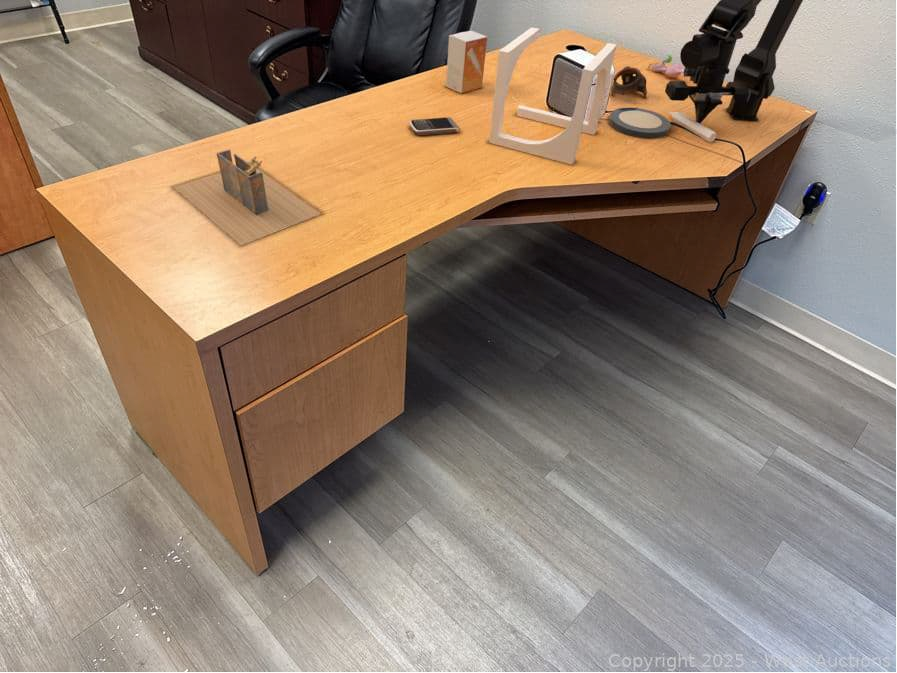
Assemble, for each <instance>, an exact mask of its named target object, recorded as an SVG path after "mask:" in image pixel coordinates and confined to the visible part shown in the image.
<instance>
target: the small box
mask: <svg viewBox="0 0 897 673" xmlns="http://www.w3.org/2000/svg"><path fill="white" fill-rule="evenodd" d="M487 43H488V36H487V35H484V34H481V33H479V32H477V31H474V30H472V29H471V30H467V31H461V32H457V33H454V34H453V33H452V34H449V35H448V46H447V47H448V48H447V64H446V79H445V87H446V88H448V89H450V90H452V91H455V92H457V93H460V94H464V93H467V92H471V91H474V90H477V89H482V88H483V82H484V81H483V80H484V71H485V62H486V54H487Z"/></svg>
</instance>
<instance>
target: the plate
mask: <svg viewBox="0 0 897 673" xmlns="http://www.w3.org/2000/svg"><path fill="white" fill-rule="evenodd" d="M608 124H609V125H610V127H611V128H613V129H614V130H615V131H617V132H620V133H622V134H624V135H627V136H631V137H635V138H641V139H657V138H662V137H665V136H667V135H668V134H669V132H670V129H671V126H672V124H671V122H670V120H669V119H668V118H667V117H666V116H664V115H662V114H661V113H658V112H656V111H652V110H649V109H645V108H639V107H620V108H616V109H614V110H612V111H611V112H610V113H609V117H608Z"/></svg>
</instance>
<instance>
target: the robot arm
mask: <svg viewBox="0 0 897 673" xmlns="http://www.w3.org/2000/svg"><path fill="white" fill-rule="evenodd" d="M762 1H763V0H719V1H718V2H717V4H716V5H715V6H714V7H713V9H712V10H711V12H710V13H709V15H708V16H707V17H706V18H705V20H704V22H703V23H702V24H701V26H700V27H699V28H698V33H696V34H693V36H692V38H691V39H692V40H689V41H687V42H686V43H684V45H683V46H682V48H681V49H680V54H679V56H680V62H681V64H682V65H683V67H684V68H685V69H684V73H682V74H683V77H684V78H686V77H688V78H689V82H692V83H693V84H694V85H688V83H686V81H685V80H669V81H668V82H667V84H666V85H665V90H664V92H665V94H666V96H667V97H668V98H669V100H670V101H672V102H673V101H675V102H676V101H679V102H680V101H681V102H684V101H686V100H687V99H690V101H691V102H692V103H693V104H694V110H695V111H694V112H695V113H694V114H695V121H696V122H698V123H700V124H701V125H702V123H703V122H704V120H705V119H706V118H707V117H708V116H709V114H710V113H712V112H713V111H714V109H716V108H717V107H718V106H721V105H723V101H722V97H723V96H731V100H730V101H729V105H728V107H726V112H727V114H729V115H730V116H731V118H732V119H733V120H740V121H741V120H742V121H759V118H758V116H757V115H758V113H759V110H760V108H761V106H762V103H763V101H764V100H768V99H769V98H770V97H771V95H772V94H773V92H774V90H775V89H776V88H775V82H774V78H773V76H774V73H775V71H776V68H777V58H776V57H777V56H776V55H777V52H778V51H779V48H780V46H781V44H782V43H783V40H784V38H785V36H786V34H787V32H788V30H789V29H790V26H791V25H792V22H793V21H794V19H795V17H796V15H797V13H798V11H799V9H800V7H801V5H802V3H803V1H804V0H778V2H777V4H776V6H775V8H774V10H773V12H772V13H771V15H770V18H769V19H768V22H767V24H766V26H765V28H764V30H763V32H762V34H761V36H760V38H759V40H758V42H757V45H756V46H755V47H754V48H753V49H752V50H751V51H750V52H748V53H746V52H745V53H744V54H743V55H742V56H741V57H740V58H741V59H740V61H739V63H738V65H737V66H736V67H735V71H734V74H733V79H732V80H733V81H728V82H727V83H726V84H725V86H723V85H724V81H725V79H726V75H729V73H730V68H729V66H730V62H731V60H732V56H733V54H734V50H735V47H736V44H737V41H738V40H741V39H743V38H744V34H743V33H742V31H743V30H744V29H745V28H746V27H747V26H748V25H749V24H750V22H751V21H752V20H753V19H754V17H755V15H756V12H757V8H758V5H759V4H760V3H761V2H762ZM713 25H714V26H713ZM699 32H700V34H699Z"/></svg>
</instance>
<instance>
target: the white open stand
mask: <svg viewBox="0 0 897 673" xmlns="http://www.w3.org/2000/svg"><path fill="white" fill-rule="evenodd" d="M540 32H541V29H540V28H539V27H538V28H537V27H533V26H532V27H530V28H529V29H527V30H525V31H524V32H523V33H522V34H521V35H519V36H517V37H515V39H513V40H512V41H511V42H509V43H508V44H506V45H505V46H504V47H502V48H501V49H499V51H498V57H497V58H498V60H497V66H496V67H497V68H496V78H495V86H494V93H493V94H494V95H493V102H492V110H491V121H490V130H489V138H488V143H489V144H492V145H497V146H500V147H504V148H507V149H511V150H516V151H518V152H522V153H526V154H530V155H534V156H538V157H541V158H545V159H549V160H553V161H557V162H561V163H564V164H567V165H572V166H573V165H574V163H575V162H576V159H577V153H578V150H579V149H578V148H579V144H580V141H581V140H580V139H581V136H582V133H584V134H588V135H593V136H594V135H595V134H596V133H597V129H598V127H599V126H598V125H599V122H600V118H601V114H602V108H603V105H604V100H605V97H606V92H607V88H608V84H609V79H610V76H611V71H612V67H613V63H614V59H615V54H616V50H617V46H618V44H616V43H612V42H608V43H606V44H605V46H604V47H602V48H601V50H600V51H599V52H598V53H597V54H596V55H595V56H594V57H593V58H591V60H590V61H589V62H588V63H587V64H586V65H585V66H584V67H583V69H582V71H581V77H580V82H579V86H578V91H577V96H576V101H575V105H574V106H575V107H574V110H573V114H572V116H571V117H570V116H567V115H562V114H558V113H554V112H550V111H546V110H542V109H539V108H534V107H529V106H526V105H522V104H520V105H518V107H517V110H516V117H520V118H524V119H528V120H531V121H536V122H539V123H544V124H548V125H552V126H556V127H559V128H560V127H561V128H563V130H562V131H561V132H560V133H558V134H557V135H555V136H552V137H551V138H547V139H543V140H530V139H526V138H521V137H517V136H513V135H510V134H506V133H503V132H502V131H503V130H502V129H503V124H504V114H505V106H506V100H507V95H508V90H509V86H510V83H511V79H512V76H513V73H514V71H515V68H516V65H517V63H518V61H519V60H520V57H521V56H522V54H523V53H524V51H525V50H526V49H527V48H528V47H529V46H530V45H532V44H533V43H534V42H536V41H537V40H538V39H539V37H540ZM595 77H596V83H595V90H594V95H593V100H592V104H591V109H590V112H589V117H588V121H587V120H585V118H586V112H587V109H588V103H589V99H590V95H591V90H592V85H593V82H594V78H595Z"/></svg>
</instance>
